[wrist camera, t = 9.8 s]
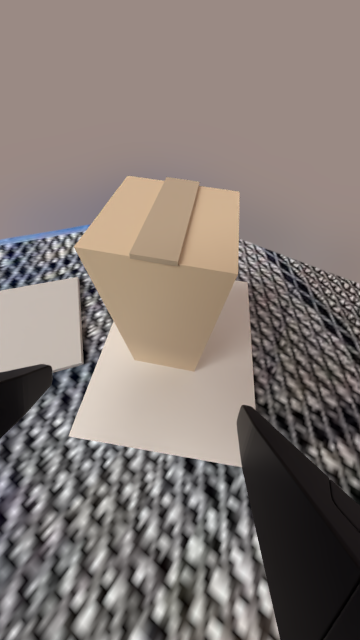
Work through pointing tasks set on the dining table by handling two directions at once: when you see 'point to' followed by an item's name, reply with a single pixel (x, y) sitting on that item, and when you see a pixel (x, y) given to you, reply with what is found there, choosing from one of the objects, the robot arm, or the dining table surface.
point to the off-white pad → (175, 394)
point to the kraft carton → (164, 265)
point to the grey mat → (41, 326)
